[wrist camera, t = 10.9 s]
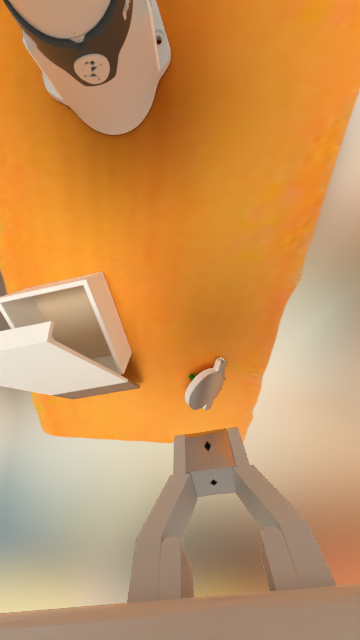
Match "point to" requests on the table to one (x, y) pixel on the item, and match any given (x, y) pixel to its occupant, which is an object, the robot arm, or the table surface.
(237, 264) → the table surface
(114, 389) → the lid
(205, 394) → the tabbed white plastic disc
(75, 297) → the box
